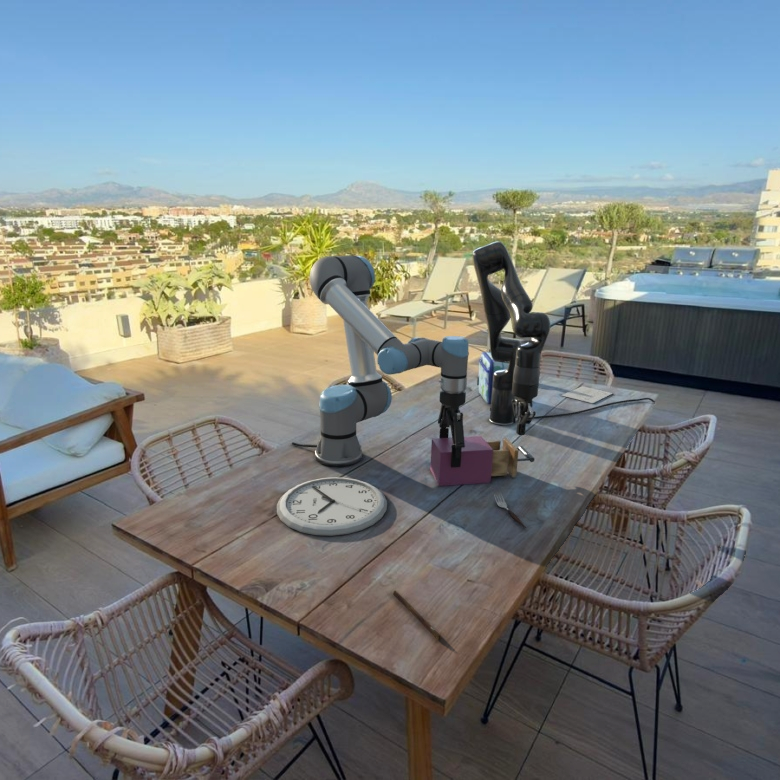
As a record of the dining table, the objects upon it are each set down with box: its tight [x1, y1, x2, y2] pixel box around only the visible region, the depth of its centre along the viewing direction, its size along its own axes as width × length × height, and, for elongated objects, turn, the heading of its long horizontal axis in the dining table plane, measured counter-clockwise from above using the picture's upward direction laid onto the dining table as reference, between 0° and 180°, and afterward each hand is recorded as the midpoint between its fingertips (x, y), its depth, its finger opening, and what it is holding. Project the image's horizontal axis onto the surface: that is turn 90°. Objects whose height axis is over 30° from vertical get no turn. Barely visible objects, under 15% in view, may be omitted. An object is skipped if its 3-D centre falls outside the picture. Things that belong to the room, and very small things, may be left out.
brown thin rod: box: [392, 590, 441, 641], centre depth 102 cm, size 15×1×1 cm, turn 34°
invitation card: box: [560, 385, 613, 404], centre depth 242 cm, size 21×1×15 cm
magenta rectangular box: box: [429, 435, 493, 487], centre depth 159 cm, size 16×11×11 cm, turn 100°
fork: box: [493, 492, 526, 529], centre depth 140 cm, size 3×16×2 cm, turn 15°
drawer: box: [485, 437, 536, 478], centre depth 161 cm, size 20×9×9 cm, turn 100°
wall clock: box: [276, 476, 388, 537], centre depth 142 cm, size 30×2×30 cm
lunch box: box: [476, 351, 509, 406], centre depth 230 cm, size 26×11×21 cm, turn 179°
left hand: (449, 457), depth 158 cm, fingers open, 13 cm apart
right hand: (520, 434), depth 160 cm, fingers closed
